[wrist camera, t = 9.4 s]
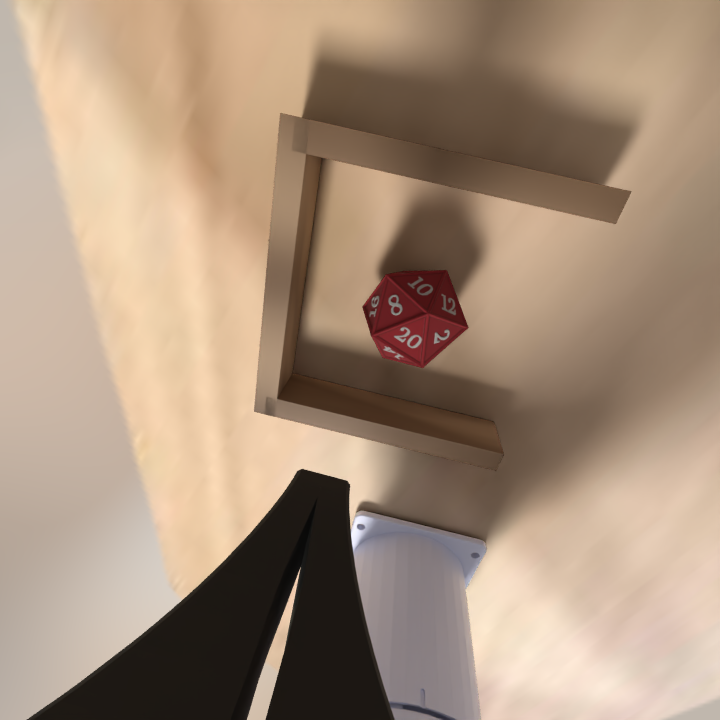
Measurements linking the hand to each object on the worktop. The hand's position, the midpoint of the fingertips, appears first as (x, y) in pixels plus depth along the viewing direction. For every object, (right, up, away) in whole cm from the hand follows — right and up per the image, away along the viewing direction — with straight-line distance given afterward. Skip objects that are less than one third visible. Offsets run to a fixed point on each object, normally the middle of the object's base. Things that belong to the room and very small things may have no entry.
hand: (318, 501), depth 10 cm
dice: (+3, +6, +7) cm, 10 cm away
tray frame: (+3, +6, +7) cm, 10 cm away
